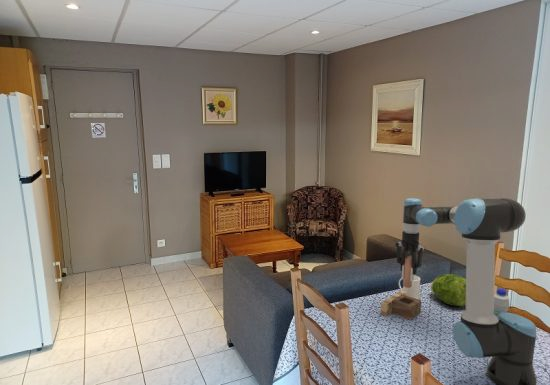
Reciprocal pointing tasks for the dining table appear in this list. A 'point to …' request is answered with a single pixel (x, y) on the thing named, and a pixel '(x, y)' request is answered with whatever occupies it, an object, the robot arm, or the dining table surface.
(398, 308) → the block
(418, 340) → the dining table surface
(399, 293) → the backstop
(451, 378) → the dining table surface
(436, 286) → the lettuce
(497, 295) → the bottle
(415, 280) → the mug
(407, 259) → the dowel
